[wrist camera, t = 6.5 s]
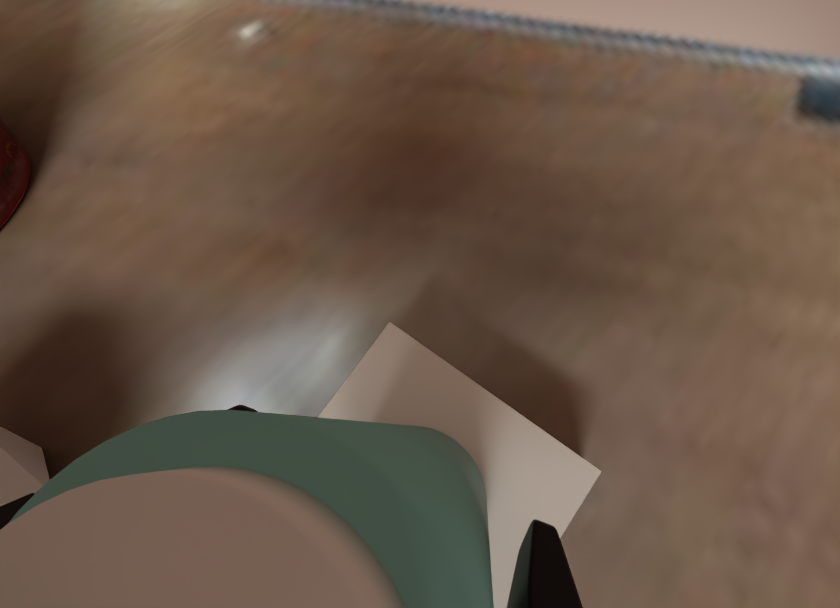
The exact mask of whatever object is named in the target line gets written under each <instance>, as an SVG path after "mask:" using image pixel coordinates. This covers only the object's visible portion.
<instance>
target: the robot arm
mask: <svg viewBox="0 0 840 608" xmlns="http://www.w3.org/2000/svg"><path fill="white" fill-rule="evenodd" d="M228 410H238V411H250V412H258V411H256V410H254V409H252V408H249V407H246V406H244V405H238V406H235V407H232V408H230V409H228ZM34 494H35V493H30V494H28V495H25V496H23V497H21V498H18V499H16V500H14V501H11V502H9V503H7V504H4V505H2V506H0V530H1V529H2V528H3V527H5V526H6V525H7V524H8V523H9V522H10V520H11V519H12V518H13V517H14V515H15V514H16V513H17V512H18V511H19V510H20V509H21V508H22V507H23V505H24V504H25V503H26V502H27V501H28V500H29V499H30V498H31V497H32V496H33V495H34ZM507 608H583V607H582V604H581V601H580V598H579V595H578V592H577V589H576V586H575V583H574V580H573V577H572V574H571V571H570V568H569V565H568V562H567V558H566V555H565V552H564V549H563V546H562V543H561V540H560V537H559V534H558V532H557V530H556V528H555V527H554V526H552V525H550V524H547V523H545V522H542V521H540V520H537V519H535V520H533V521H532V522H531V524H530V526H529V528H528V530H527V532H526V535H525V537H524V539H523V541H522V544H521V546H520V549H519V552H518V556H517V561H516V566H515V570H514V575H513V580H512V585H511V589H510V594H509V599H508V604H507Z"/></svg>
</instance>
